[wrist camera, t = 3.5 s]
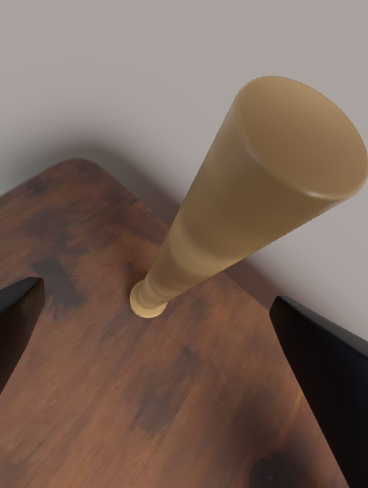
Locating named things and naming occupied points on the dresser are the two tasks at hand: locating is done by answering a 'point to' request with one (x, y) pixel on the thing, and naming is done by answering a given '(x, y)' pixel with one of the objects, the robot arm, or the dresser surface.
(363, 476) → the robot arm
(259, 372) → the dresser surface
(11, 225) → the dresser surface
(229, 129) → the stirring stick
